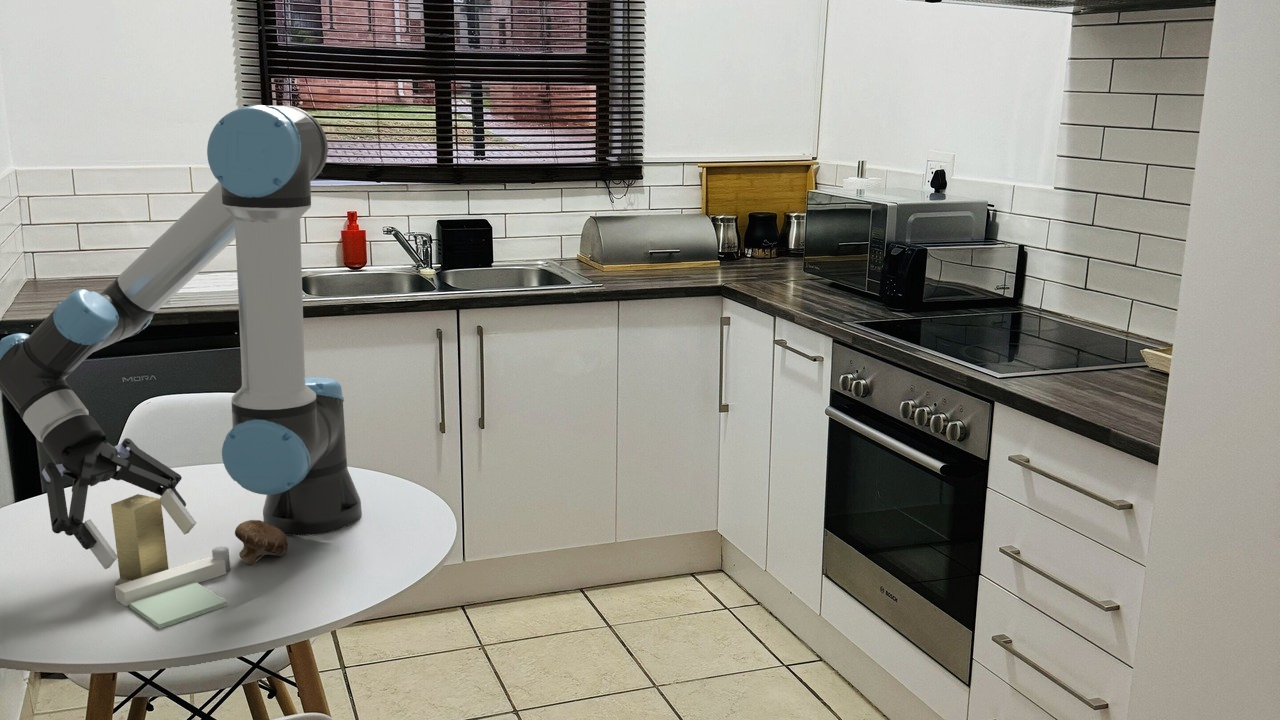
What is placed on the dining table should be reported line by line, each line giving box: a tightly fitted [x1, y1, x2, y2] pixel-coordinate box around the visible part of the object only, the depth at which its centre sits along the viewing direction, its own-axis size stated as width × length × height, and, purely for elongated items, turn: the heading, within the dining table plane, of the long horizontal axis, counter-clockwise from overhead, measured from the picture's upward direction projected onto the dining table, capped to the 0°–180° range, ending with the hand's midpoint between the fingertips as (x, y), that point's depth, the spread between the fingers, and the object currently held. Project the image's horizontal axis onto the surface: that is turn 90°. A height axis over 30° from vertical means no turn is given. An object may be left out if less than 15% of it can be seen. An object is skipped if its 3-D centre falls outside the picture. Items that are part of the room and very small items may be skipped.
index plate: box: [129, 582, 228, 629], centre depth 145 cm, size 9×9×1 cm
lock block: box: [110, 493, 170, 582], centre depth 154 cm, size 4×4×11 cm
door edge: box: [114, 546, 231, 607], centre depth 151 cm, size 15×3×3 cm, turn 137°
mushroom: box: [234, 519, 289, 565], centre depth 160 cm, size 8×8×6 cm
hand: (152, 545), depth 153 cm, fingers open, 13 cm apart
